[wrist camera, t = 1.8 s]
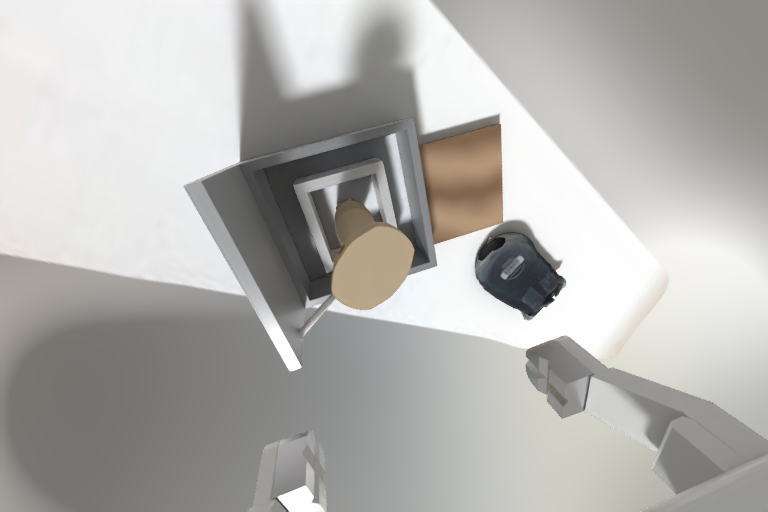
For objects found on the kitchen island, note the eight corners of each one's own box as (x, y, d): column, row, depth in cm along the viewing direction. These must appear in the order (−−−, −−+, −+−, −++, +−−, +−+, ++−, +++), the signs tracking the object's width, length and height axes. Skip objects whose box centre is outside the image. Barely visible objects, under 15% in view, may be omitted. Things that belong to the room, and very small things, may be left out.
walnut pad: (414, 146, 30) (417, 147, 29) (495, 124, 31) (500, 124, 30) (429, 241, 36) (432, 244, 35) (498, 220, 37) (503, 222, 36)
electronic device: (551, 263, 44) (507, 217, 36) (578, 285, 40) (535, 239, 32) (506, 299, 47) (457, 265, 39) (527, 324, 43) (476, 291, 35)
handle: (381, 199, 32) (427, 249, 19) (351, 243, 33) (375, 318, 20) (346, 176, 30) (370, 213, 17) (316, 223, 31) (316, 292, 18)
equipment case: (239, 162, 27) (183, 185, 15) (400, 119, 29) (457, 112, 17) (298, 290, 34) (290, 371, 23) (423, 250, 36) (474, 307, 24)
